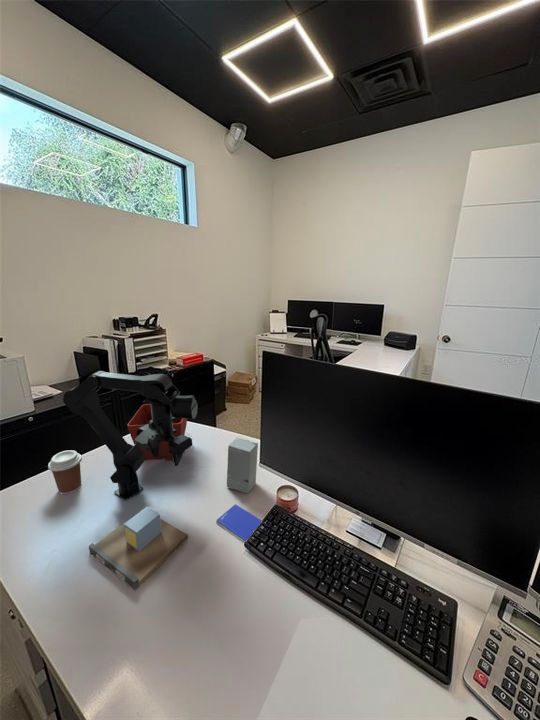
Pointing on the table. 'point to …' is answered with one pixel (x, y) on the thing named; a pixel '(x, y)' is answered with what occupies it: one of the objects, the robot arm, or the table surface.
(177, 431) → the plant pot
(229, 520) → the hard drive
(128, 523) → the box
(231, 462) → the skincare box
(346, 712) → the table surface
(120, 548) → the shelf board
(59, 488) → the coffee cup
